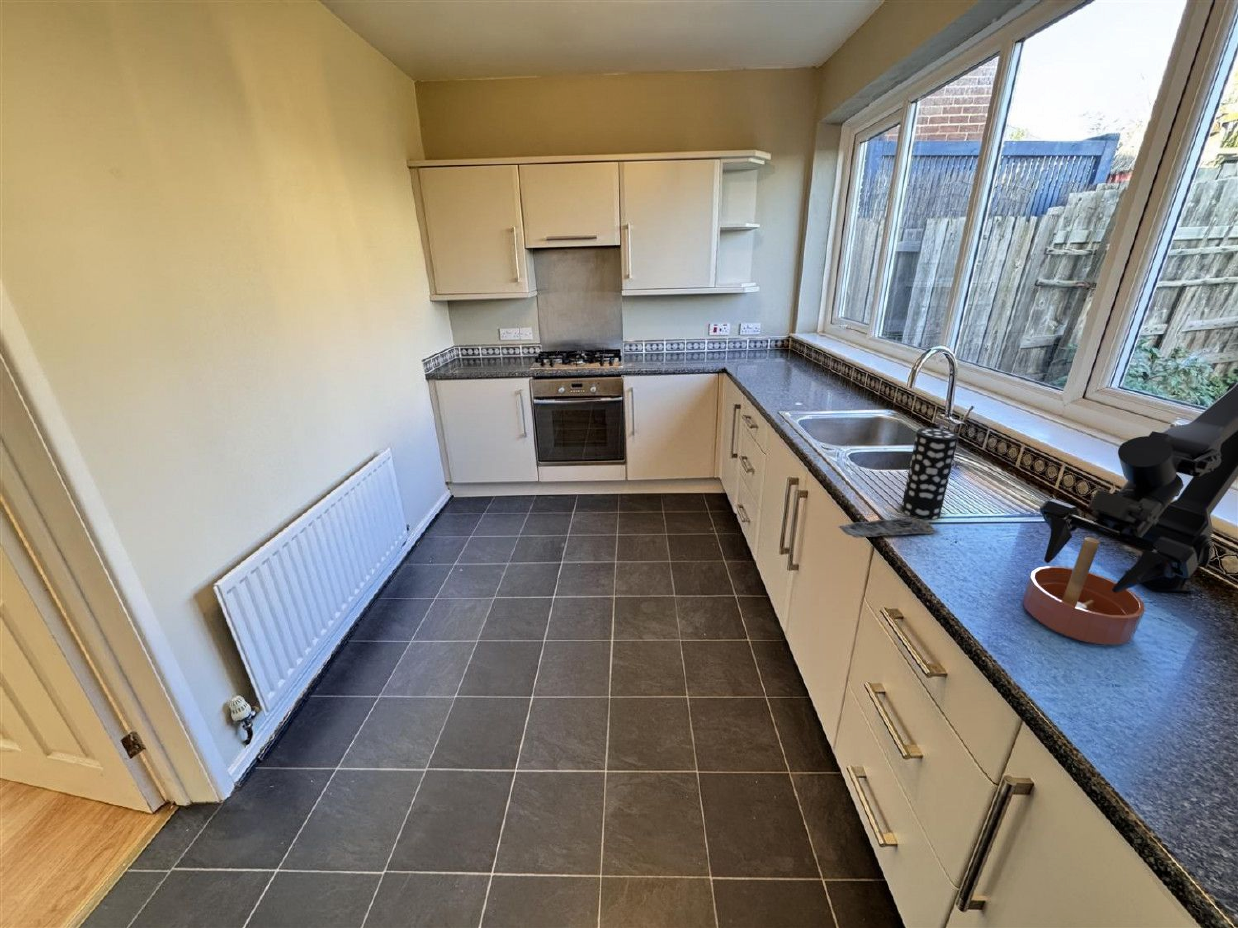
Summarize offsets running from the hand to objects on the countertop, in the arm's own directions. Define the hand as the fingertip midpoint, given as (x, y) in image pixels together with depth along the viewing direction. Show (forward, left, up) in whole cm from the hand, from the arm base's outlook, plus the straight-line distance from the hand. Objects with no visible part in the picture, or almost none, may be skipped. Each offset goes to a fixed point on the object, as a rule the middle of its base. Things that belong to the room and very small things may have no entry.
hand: (1078, 575), depth 81 cm
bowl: (-4, -2, -10) cm, 11 cm away
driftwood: (+15, -32, -10) cm, 37 cm away
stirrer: (-4, -2, -9) cm, 10 cm away
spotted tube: (+3, -42, -10) cm, 43 cm away
